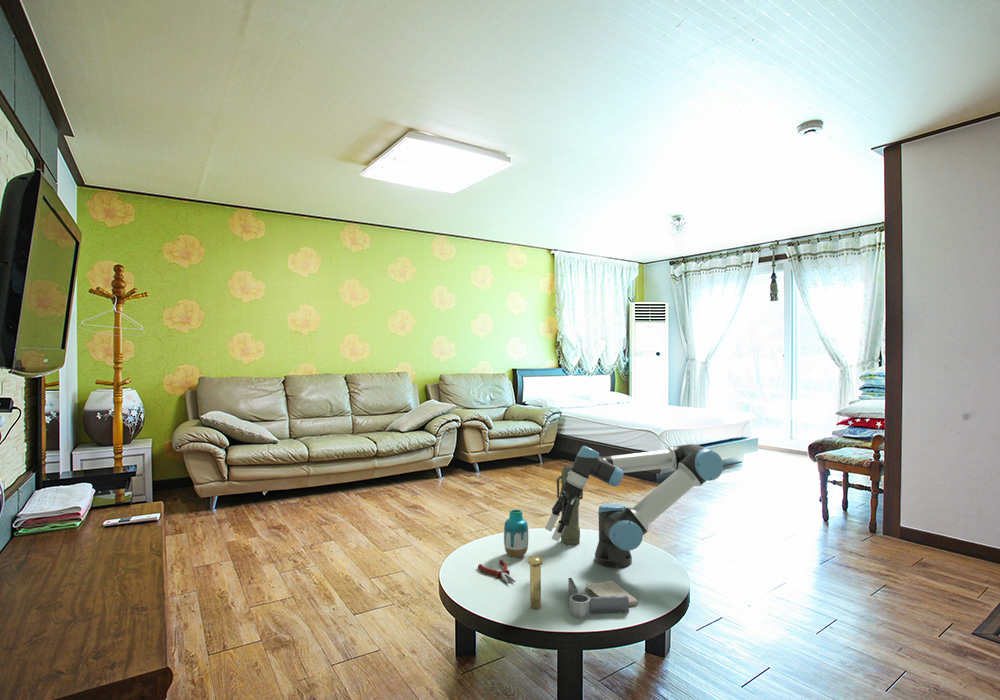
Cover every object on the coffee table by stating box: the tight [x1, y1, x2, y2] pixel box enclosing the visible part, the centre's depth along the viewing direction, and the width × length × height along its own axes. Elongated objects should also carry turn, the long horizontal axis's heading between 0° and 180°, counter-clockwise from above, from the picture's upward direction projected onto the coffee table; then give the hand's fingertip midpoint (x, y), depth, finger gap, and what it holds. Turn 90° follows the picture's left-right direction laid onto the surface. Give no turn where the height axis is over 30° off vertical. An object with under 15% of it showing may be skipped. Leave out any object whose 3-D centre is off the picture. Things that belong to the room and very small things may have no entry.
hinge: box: [567, 577, 630, 620], centre depth 178 cm, size 20×20×5 cm
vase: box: [503, 508, 529, 558], centre depth 223 cm, size 11×11×19 cm
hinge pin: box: [527, 555, 544, 610], centre depth 177 cm, size 5×5×16 cm
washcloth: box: [584, 580, 639, 608], centre depth 183 cm, size 12×18×3 cm, turn 21°
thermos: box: [556, 464, 584, 546], centre depth 239 cm, size 9×12×35 cm
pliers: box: [477, 559, 516, 585], centre depth 203 cm, size 12×20×3 cm, turn 26°
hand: (551, 535), depth 200 cm, fingers open, 13 cm apart
